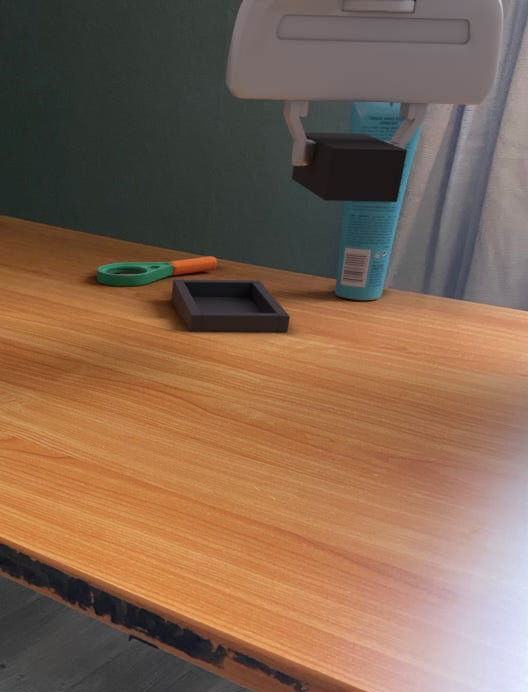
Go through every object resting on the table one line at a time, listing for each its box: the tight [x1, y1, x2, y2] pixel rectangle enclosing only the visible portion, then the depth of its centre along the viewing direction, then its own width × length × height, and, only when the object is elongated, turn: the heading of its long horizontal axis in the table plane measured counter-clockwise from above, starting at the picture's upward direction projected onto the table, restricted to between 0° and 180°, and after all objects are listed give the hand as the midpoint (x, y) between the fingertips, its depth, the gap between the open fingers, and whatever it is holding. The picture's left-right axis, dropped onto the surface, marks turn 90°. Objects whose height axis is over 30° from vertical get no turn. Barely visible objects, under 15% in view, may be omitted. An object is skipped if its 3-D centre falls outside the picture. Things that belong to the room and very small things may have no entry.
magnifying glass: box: [96, 255, 218, 287], centre depth 114 cm, size 15×6×2 cm, turn 116°
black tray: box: [171, 279, 290, 334], centre depth 99 cm, size 9×15×2 cm, turn 1°
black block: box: [291, 131, 407, 202], centre depth 79 cm, size 6×11×4 cm, turn 1°
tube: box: [334, 101, 430, 301], centre depth 103 cm, size 7×5×19 cm, turn 85°
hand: (344, 166), depth 79 cm, fingers closed on black block, 5 cm apart
